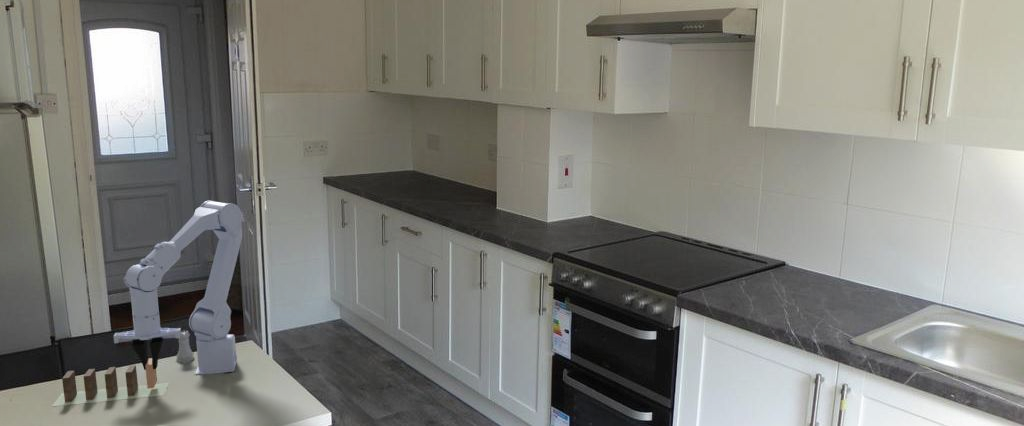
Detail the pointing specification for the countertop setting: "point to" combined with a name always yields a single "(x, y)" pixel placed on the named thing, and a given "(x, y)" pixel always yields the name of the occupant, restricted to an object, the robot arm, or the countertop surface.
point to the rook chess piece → (184, 348)
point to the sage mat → (120, 395)
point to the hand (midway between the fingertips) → (150, 367)
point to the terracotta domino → (150, 374)
